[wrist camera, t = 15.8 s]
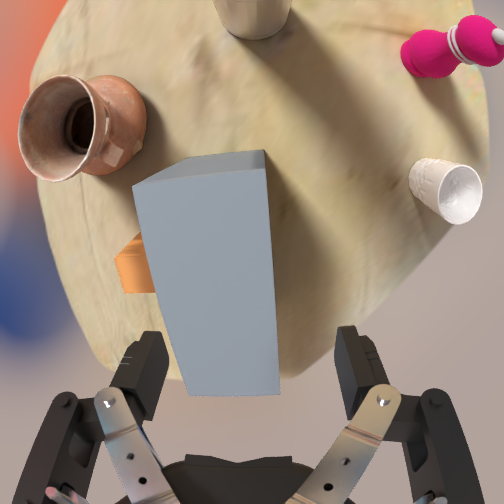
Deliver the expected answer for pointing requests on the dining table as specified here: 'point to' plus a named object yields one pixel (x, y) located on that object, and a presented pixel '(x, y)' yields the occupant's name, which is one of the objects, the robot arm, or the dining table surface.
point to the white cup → (447, 188)
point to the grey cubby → (214, 270)
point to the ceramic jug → (81, 126)
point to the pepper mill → (453, 48)
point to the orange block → (134, 268)
